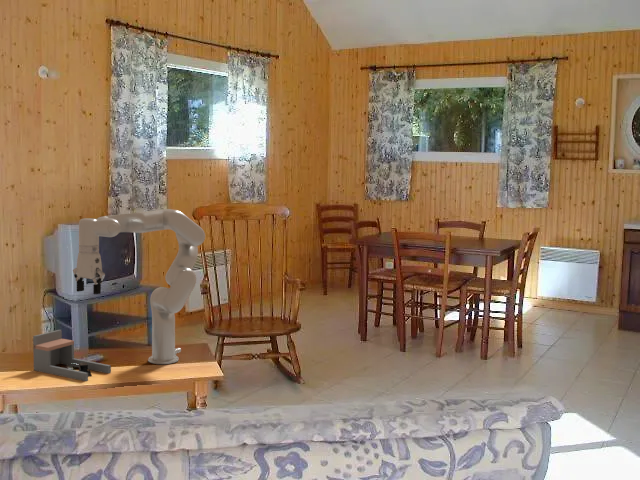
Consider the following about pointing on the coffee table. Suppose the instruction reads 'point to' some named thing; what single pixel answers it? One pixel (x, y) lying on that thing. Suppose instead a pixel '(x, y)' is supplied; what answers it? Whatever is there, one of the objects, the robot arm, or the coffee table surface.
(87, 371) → the black block
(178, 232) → the robot arm
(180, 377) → the coffee table surface
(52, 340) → the grey forked stand
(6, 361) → the coffee table surface
